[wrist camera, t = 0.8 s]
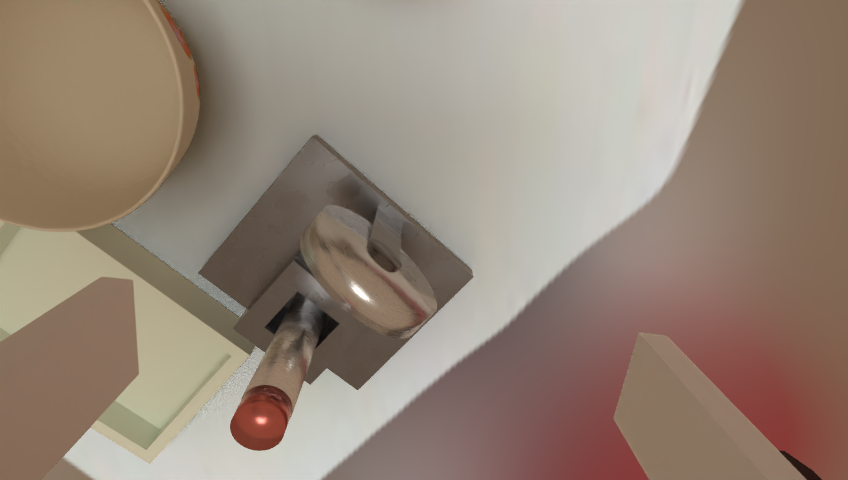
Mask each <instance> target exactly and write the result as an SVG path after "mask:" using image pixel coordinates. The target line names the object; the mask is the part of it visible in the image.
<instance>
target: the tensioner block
mask: <svg viewBox="0 0 848 480" xmlns="http://www.w3.org/2000/svg"><path fill="white" fill-rule="evenodd" d="M199 274H200V275H202V276H203V277H204V278H206V279H207V280H209V281H210V282H211V283H213V284H214V285H215V286H217V287H218V288H219V289H221V290H222V291H223V292H225V293H226V294H228V295H229V296H230V297H232V298H233V299H234V300H236V301H237V302H238V303H240V304H241V305H242V306H244V307H245V308H247V309H246V310H245V312H244V313H243V315H242V316H241V317H240V319H239V320H238V322H237V323H236V325H235V326H234V328H233V330H235V331H236V332H238V333H239V334H240V335H242V336H243V337H245V338H246V339H247V340H249V341H250V342H252V343H253V344H254V345H256V346H257V347H258V348H260V349H261V350H263V351H264V352H265V353H266V351H267V349H268V347H269V345H270V343H271V341H272V339H273V337H274V335H275V333H276V332H277V330H278V328H279V326H280V324H281V322H282V320H283V318H284V316H285V314H286V312H287V310H288V309H289V307H290V305H291V303H292V301H293V299H294V297H295V295H296V293H297V292H299V293H301V294H302V295H303V296H304V297H306V298H307V299H308V300H310V301H311V302H312V303H314V304H315V305H316V306H318V307H319V308H320V309H321V310H323V311H324V312H325V313H327V316H326V319H325V322H324V324H323V327H322V330H321V333H320V336H319V339H318V342H317V344H316V347H315V350H314V353H313V356H312V359H311V362H310V364H309V367H308V370H307V373H306V376H305V379H304V381H306V382H307V383H309V384H311V383H312V382H313V381H314V380H315V379H316V378H317V377H318V376H319V375H320V374H321V373H322V372H323V371H324V370H325V369H326V368H328V369H329V370H331V371H332V372H333V373H335V374H336V375H338V376H339V377H340V378H342V379H343V380H344V381H346V382H347V383H348V384H350V385H351V386H353V387H354V388H355V389H357V390H358V389H359V388H361V387H362V386H363V385H364V384H365V383H366V382H367V381H368V380H369V379H370V378H371V377H372V376H373V375H374V374H375V373H376V372H377V371H378V370H379V369H380V368H381V367H382V366H383V365H384V364H385V363H386V362H387V361H388V360H389V359H390V358H391V357H392V356H393V355H394V354H395V353H396V352H397V351H398V350H399V349H400V348H401V347H402V346H403V345H404V344H405V343H406V342H407V341H408V340H409V339H410V338H412V337H413V336H414V335H415V334H416V333H417V332H418V331H419V330H420V329H421V328H422V327H423V326H424V325H425V324H426V323H427V322H428V321H429V320H430V319H431V318H432V317H433V316H434V315H435V314H436V313H437V312H438V311H439V310H440V309H441V308H442V307H443V306H444V305H445V304H446V303H447V302H448V301H449V300H450V299H451V298H452V297H453V296H454V295H455V294H456V293H457V292H458V291H459V290H460V289H461V288H463V287H464V286H465V285H466V284H467V283H468V282H469V281H470V280H471V279H472V278H473V274H472V270H471V269H470V268H469V267H468V266H467V265H465V264H464V263H463V262H462V261H461V260H460V259H459V258H457V257H456V256H455V255H454V254H453V253H452V252H451V251H449V250H448V249H447V248H446V247H445V246H444V245H443V244H441V243H440V242H439V241H438V240H437V239H436V238H435V237H433V236H432V235H431V234H430V233H429V232H428V231H426V230H425V229H424V228H423V227H422V226H421V225H420V224H418V223H417V222H416V221H415V220H414V219H413V218H412V217H410V216H409V215H408V214H407V213H406V212H405V211H404V210H402V209H401V208H400V207H399V206H398V205H397V204H396V203H394V202H393V201H392V200H391V199H390V198H389V197H388V196H386V195H385V194H384V193H383V192H382V191H381V190H379V189H378V188H377V187H376V186H375V185H374V184H373V183H371V182H370V181H369V180H368V179H367V178H366V177H365V176H363V175H362V174H361V173H360V172H359V171H358V170H357V169H355V168H354V167H353V166H352V165H351V164H350V163H349V162H347V161H346V160H345V159H344V158H343V157H342V156H340V155H339V154H338V153H337V152H336V151H335V150H334V149H332V148H331V147H330V146H329V145H328V144H327V143H326V142H324V141H323V140H322V139H321V138H320V137H319V136H318V135H314V136H313V137H312V138H311V139H310V140H309V141H308V143H307V144H306V145H305V146H304V147H303V149H302V150H301V151H300V152H299V153H298V154H297V156H296V157H295V158H294V159H293V160H292V162H291V163H290V164H289V165H288V166H287V168H286V169H285V170H284V171H283V172H282V174H281V175H280V176H279V177H278V178H277V180H276V181H275V182H274V183H273V184H272V186H271V187H270V188H269V189H268V190H267V191H266V193H265V194H264V195H263V196H262V197H261V199H260V200H259V201H258V202H257V203H256V205H255V206H254V207H253V208H252V209H251V211H250V212H249V213H248V214H247V215H246V217H245V218H244V219H243V220H242V221H241V222H240V224H239V225H238V226H237V227H236V228H235V230H234V231H233V232H232V233H231V234H230V236H229V237H228V238H227V239H226V240H225V242H224V243H223V244H222V245H221V246H220V248H219V249H218V250H217V251H216V252H215V253H214V255H213V256H212V257H211V258H210V259H209V261H208V262H207V263H206V264H205V265H204V267H203V268H202V269H201V270H200V271H199Z"/></svg>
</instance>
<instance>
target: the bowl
mask: <svg viewBox="0 0 848 480" xmlns="http://www.w3.org/2000/svg"><path fill="white" fill-rule="evenodd" d="M199 110H200V89H199V80H198V75H197V70H196V66H195V63H194V60H193V57H192V54H191V51H190V49H189V47H188V45H187V42H186V40H185V39H184V37H183V35H182V33H181V31H180V29H179V28H178V26H177V25H176V23H175V22H174V20H173V19H172V17H171V16H170V15H169V13H168V12H167V11H166V10H165V8H164V7H163V6H162V5H161V4H160V3H159V1H158V0H0V221H2V222H5V223H8V224H12V225H15V226H19V227H23V228H28V229H32V230H39V231H50V232H72V231H80V230H87V229H92V228H96V227H100V226H103V225H106V224H109V223H111V222H114V221H116V220H118V219H120V218H122V217H124V216H126V215H128V214H129V213H131V212H132V211H134V210H135V209H137V208H138V207H139V206H141V205H142V204H143V203H144V202H146V201H147V200H148V199H149V198H150V197H151V196H152V195H153V194H154V193H155V192H156V191H157V190H158V188H159V187H160V186H161V185H162V184H163V182H164V181H165V180H166V179H167V178H168V176H169V175H170V174H171V173H172V171H173V170H174V169H175V167H176V166H177V165H178V163H179V162H180V160H181V159H182V157H183V156H184V154H185V153H186V151H187V149H188V147H189V145H190V143H191V140H192V138H193V135H194V133H195V130H196V126H197V122H198V117H199Z"/></svg>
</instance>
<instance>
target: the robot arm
mask: <svg viewBox="0 0 848 480" xmlns="http://www.w3.org/2000/svg"><path fill="white" fill-rule="evenodd" d="M138 375H139V365H138V350H137V334H136V318H135V302H134V287H133V280H131V279H121V278H112V277H100V278H98V279H97V280H95V281H94V282H92V283H91V284H89V285H88V286H86V287H84V288H83V289H81V290H80V291H78V292H77V293H75V294H74V295H72V296H71V297H69V298H67V299H66V300H64V301H63V302H61V303H60V304H58V305H57V306H55V307H53V308H52V309H50V310H49V311H47V312H46V313H44V314H43V315H41V316H40V317H38V318H36V319H35V320H33V321H32V322H30V323H29V324H27V325H26V326H24V327H22V328H21V329H19V330H18V331H16V332H15V333H13V334H12V335H10V336H9V337H7V338H5V339H4V340H2V341H1V342H0V480H42V479H43V478H44V477H45V476H46V475H47V474H48V472H50V470H51V469H52V468H53V467H54V466H55V465H56V464H57V463H58V462H59V460H61V458H62V457H63V456H64V455H65V454H66V453H67V452H68V451H69V450H70V449H71V448H72V446H73V445H74V444H75V443H76V442H77V441H78V440H79V439H80V438H81V437H82V436H83V435H84V433H85V432H86V431H87V430H88V429H89V428H90V427H91V426H92V425H93V424H94V423H95V421H96V420H97V419H98V418H99V417H100V416H101V415H102V414H103V413H104V412H105V411H106V409H107V408H108V407H109V406H110V405H111V404H112V403H113V402H114V401H115V400H116V399H117V397H118V396H119V395H120V394H121V393H122V392H123V391H124V390H125V389H126V388H127V387H128V386H129V384H130V383H131V382H132V381H133V380H134V379H135V378H136V377H137V376H138ZM614 420H615V422H616V423H617V425H618V427H619V429H620V430H621V432H622V434H623V436H624V437H625V439H626V440H627V442H628V444H629V446H630V448H631V449H632V451H633V453H634V454H635V456H636V458H637V460H638V461H639V463H640V465H641V466H642V468H643V470H644V472H645V473H646V475H647V477H648V479H649V480H822V479H821V478H820V477H819V476H818V475H817V474H816V473H815V472H814V471H812V470H811V469H810V468H808V467H807V466H805V465H804V464H802V463H801V462H799V461H798V460H797V459H795V458H794V457H792V456H791V455H789V454H788V453H786V452H785V451H778V450H777V449H776V448H775V447H774V446H773V445H772V444H771V442H769V440H768V439H767V438H766V437H765V436H764V435H763V434H762V433H761V432H760V431H759V430H758V429H757V428H756V427H755V426H754V425H753V424H752V423H751V422H750V421H749V420H748V419H747V418H746V417H745V416H744V415H743V414H742V413H741V412H740V411H739V410H738V409H737V408H736V407H735V405H734V404H733V403H731V401H730V400H729V399H728V398H727V397H726V396H725V395H724V394H723V393H722V392H721V391H720V390H719V389H718V388H717V387H716V386H715V385H714V384H713V383H712V382H711V381H710V380H709V379H708V378H707V377H706V376H705V375H704V374H703V373H702V372H701V371H700V370H699V368H697V366H696V365H695V364H694V363H693V362H692V361H691V360H690V359H689V358H688V357H687V356H686V355H685V354H684V353H683V352H682V351H681V350H680V349H679V348H678V347H677V346H676V345H675V344H674V343H673V342H672V341H671V340H670V339H669V338H668V337H667V336H665V335H656V334H647V333H639V334H638V337H637V340H636V344H635V347H634V351H633V354H632V358H631V361H630V364H629V368H628V371H627V374H626V378H625V381H624V385H623V388H622V392H621V395H620V398H619V402H618V405H617V408H616V412H615V415H614Z"/></svg>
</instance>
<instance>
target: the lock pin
mask: <svg viewBox="0 0 848 480" xmlns="http://www.w3.org/2000/svg"><path fill="white" fill-rule="evenodd" d="M326 316H327V313H325V312H324V311H323V310H321V309H320V308H319V307H318V306H316V305H315V304H314V303H312V302H311V301H310V300H308V299H307V298H306V297H304V296H303V295H302V294H301V293H299V292H297V293H296V295H295V297H294V299H293V301H292V303H291V305H290V307H289V309H288V310H287V312H286V314H285V316H284V318H283V320H282V322H281V324H280V326H279V328H278V330H277V332H276V333H275V335H274V337H273V339H272V341H271V343H270V345H269V347H268V349H267V351H266V353H265V355H264V356H263V358H262V360H261V362H260V364H259V366H258V368H257V370H256V372H255V374H254V376H253V378H252V379H251V381H250V383H249V385H248V387H247V389H246V391H245V393H244V395H243V397H242V400H241V403H240V405H239V406H238V408H237V410H236V412H235V414H234V416H233V418H232V420H231V424H230V429H231V433H232V436H233V437H234V439H235V440H236V441H237V442H238V443H239V444H241V445H242V446H244V447H246V448H248V449H251V450H258V451H261V450H268V449H271V448H273V447H275V446H276V445H277V444H279V443H280V441H281V440H282V438H283V436H284V433H285V430H286V427H287V424H288V422H289V419H290V417H291V415H292V413H293V410H294V407H295V404H296V402H297V399H298V396H299V393H300V390H301V387H302V384H303V382H304V379H305V376H306V373H307V370H308V367H309V364H310V362H311V359H312V356H313V353H314V350H315V347H316V344H317V342H318V339H319V336H320V333H321V330H322V327H323V324H324V322H325V319H326Z"/></svg>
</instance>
